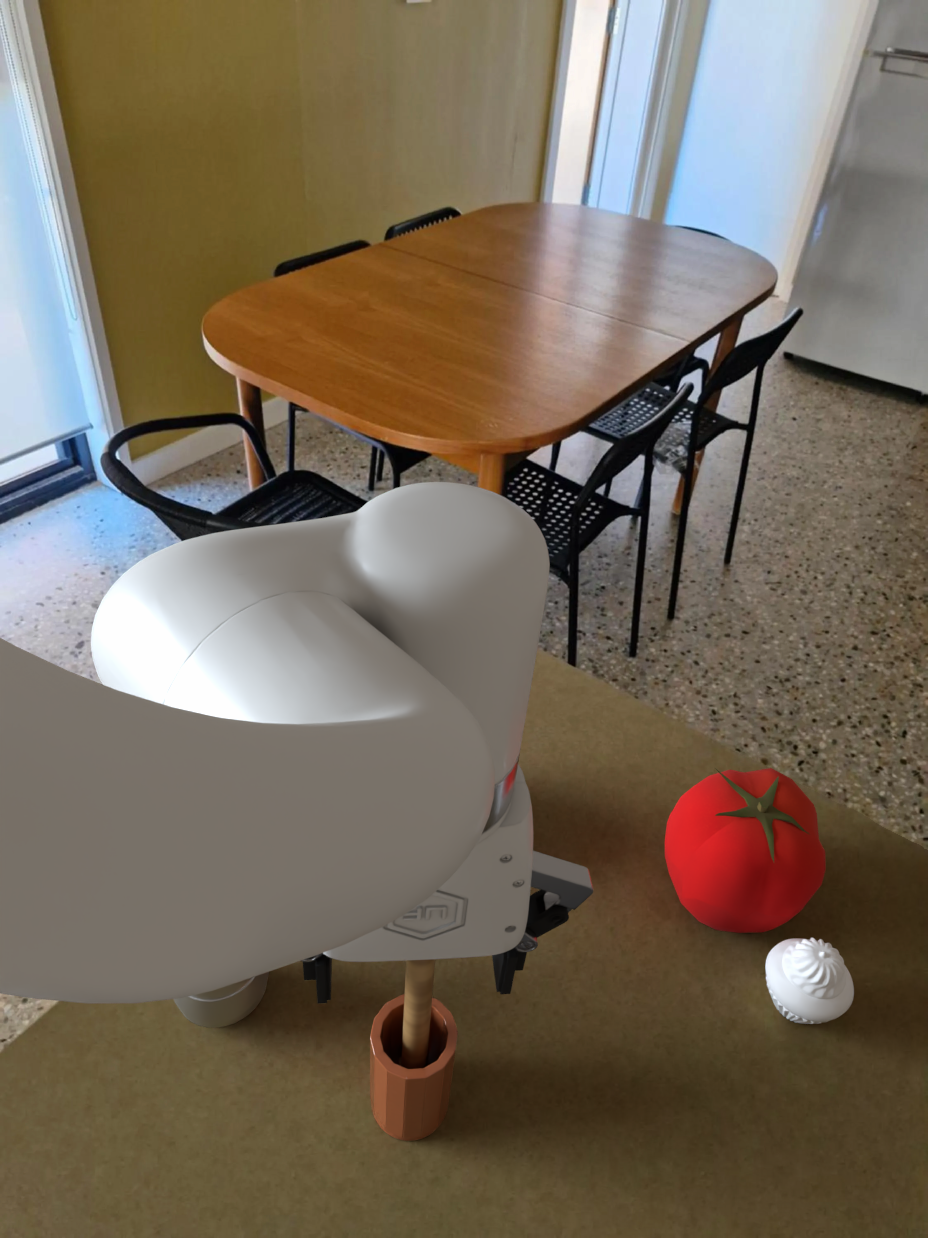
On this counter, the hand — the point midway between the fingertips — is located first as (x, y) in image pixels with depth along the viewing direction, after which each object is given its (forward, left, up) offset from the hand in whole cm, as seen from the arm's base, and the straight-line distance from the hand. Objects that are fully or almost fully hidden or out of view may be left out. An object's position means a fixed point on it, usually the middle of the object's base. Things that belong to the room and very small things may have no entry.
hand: (413, 973), depth 49 cm
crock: (0, 0, -17) cm, 17 cm away
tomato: (+15, -27, -17) cm, 35 cm away
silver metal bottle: (+8, +13, -17) cm, 23 cm away
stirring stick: (0, 0, -16) cm, 16 cm away
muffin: (+5, -29, -17) cm, 34 cm away
